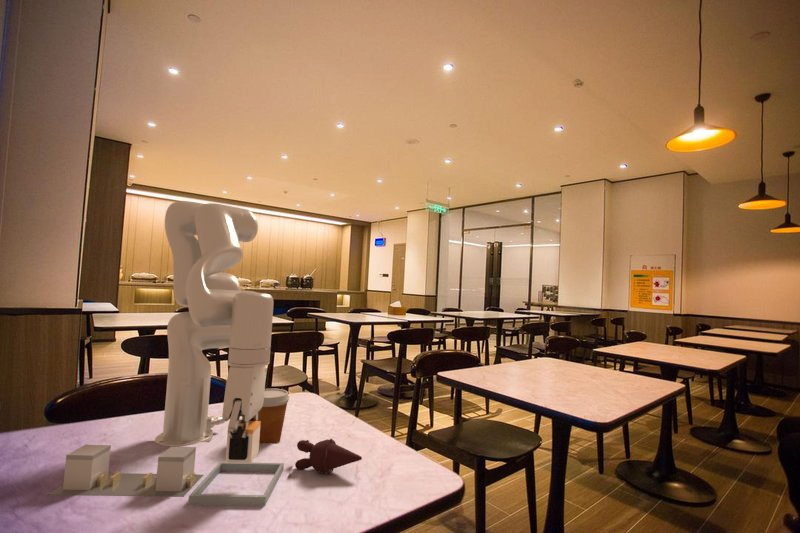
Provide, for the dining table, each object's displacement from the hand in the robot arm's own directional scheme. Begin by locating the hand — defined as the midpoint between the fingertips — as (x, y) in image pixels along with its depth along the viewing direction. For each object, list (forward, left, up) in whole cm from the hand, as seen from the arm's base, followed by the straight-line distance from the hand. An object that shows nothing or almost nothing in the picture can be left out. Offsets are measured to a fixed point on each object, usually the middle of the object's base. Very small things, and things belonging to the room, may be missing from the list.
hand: (242, 452), depth 73 cm
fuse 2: (+7, -10, -6) cm, 14 cm away
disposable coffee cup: (-18, -15, -7) cm, 25 cm away
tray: (0, 0, -7) cm, 7 cm away
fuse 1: (+16, -23, -6) cm, 29 cm away
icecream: (-16, +7, -8) cm, 19 cm away
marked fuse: (0, 0, -1) cm, 1 cm away
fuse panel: (+12, -16, -7) cm, 21 cm away
